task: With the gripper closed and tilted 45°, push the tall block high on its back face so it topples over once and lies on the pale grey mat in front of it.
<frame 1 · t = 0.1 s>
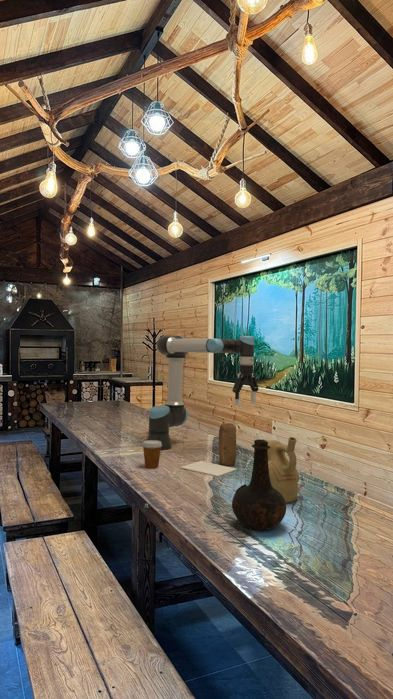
hand: (245, 404, 241), 28 cm above the table, tool pointing down, fingers open, 13 cm apart
glass bottle: (258, 525, 148), on the table
ceramic vessel: (279, 498, 176), on the table
disposable coffee cup: (151, 467, 217), on the table
block: (226, 464, 226), on the table
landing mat: (208, 469, 216), on the table
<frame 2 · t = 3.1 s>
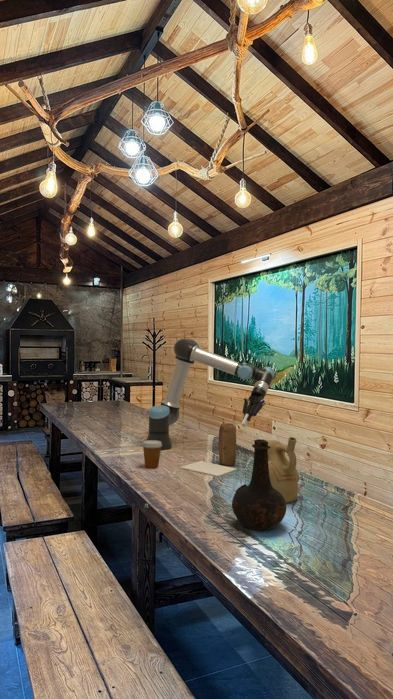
hand: (243, 425, 239), 18 cm above the table, tool tilted 45°, fingers closed
nothing on the table moved.
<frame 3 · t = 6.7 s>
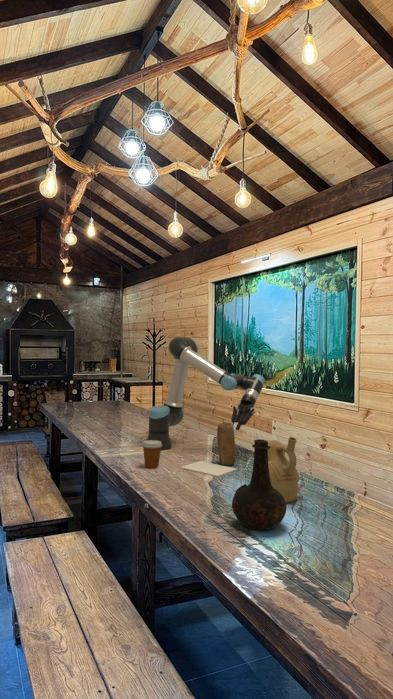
hand: (232, 434, 229), 14 cm above the table, tool tilted 45°, fingers closed
block: (226, 463, 226), on the table, touching gripper
everything else where it was.
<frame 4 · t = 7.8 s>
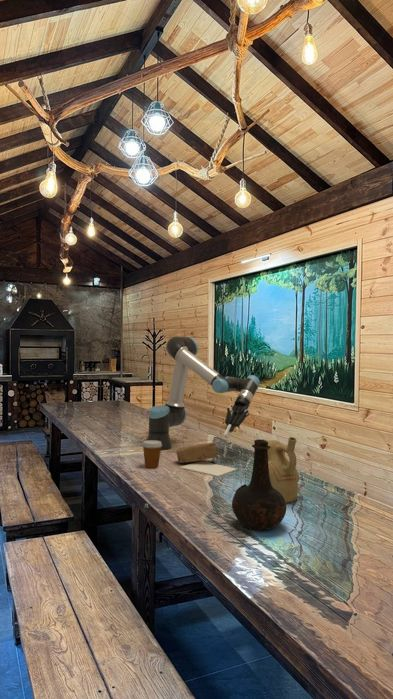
hand: (225, 436, 225), 14 cm above the table, tool tilted 45°, fingers closed
block: (216, 449, 226), point 7 cm above the table
everything else where it was.
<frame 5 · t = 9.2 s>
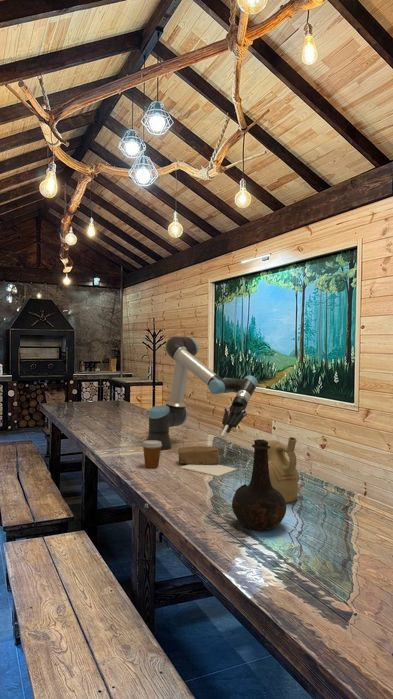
hand: (222, 437, 223), 14 cm above the table, tool tilted 45°, fingers closed
block: (218, 454, 226), point 5 cm above the table, touching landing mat
everything else where it was.
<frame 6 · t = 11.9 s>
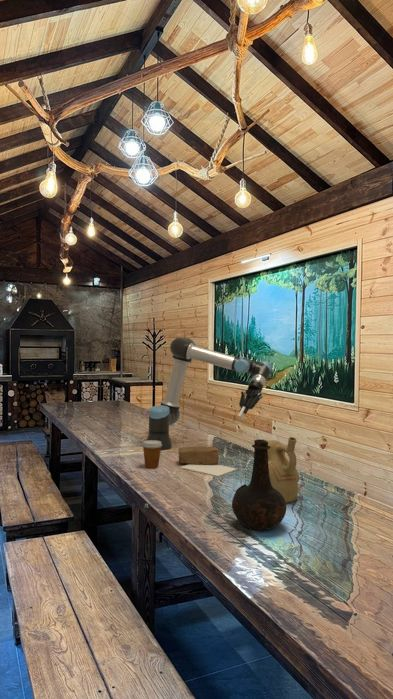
hand: (240, 417, 237), 22 cm above the table, tool tilted 45°, fingers closed
nothing on the table moved.
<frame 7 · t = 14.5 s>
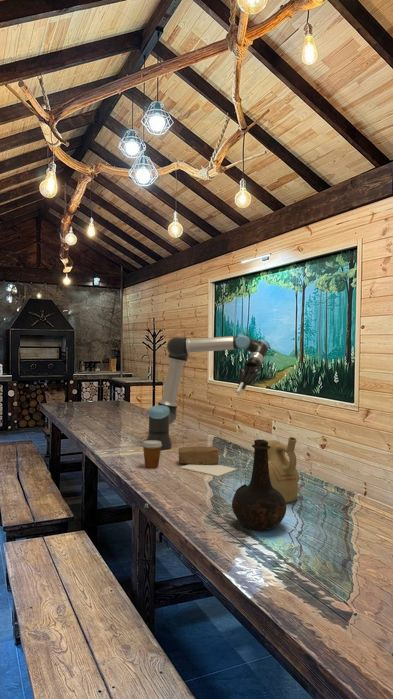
hand: (238, 392, 243), 34 cm above the table, tool tilted 45°, fingers closed
nothing on the table moved.
at the end: block tilted 91°; block inside the target area (4.0 cm from its centre), point 4.5 cm above the table; block touching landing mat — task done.
